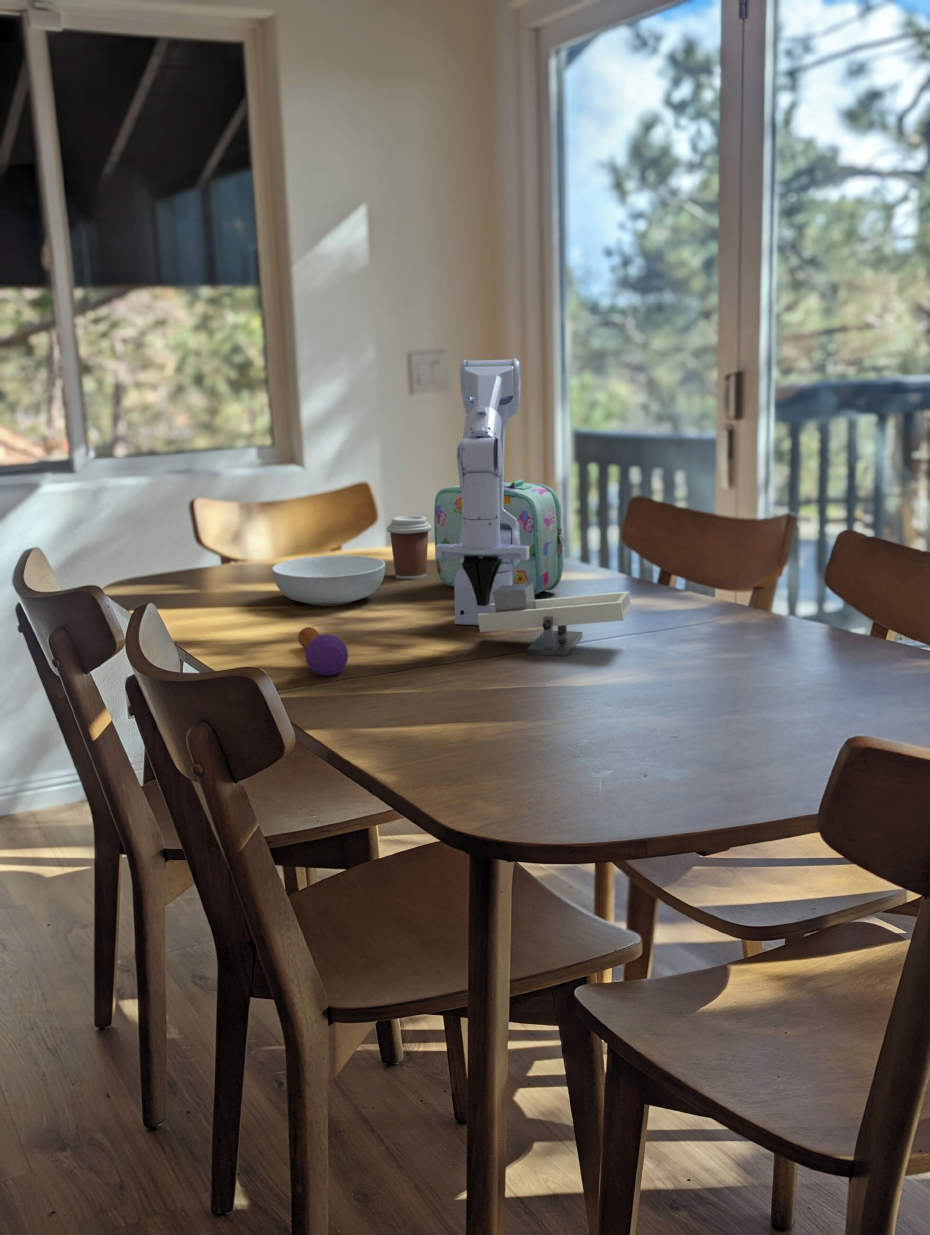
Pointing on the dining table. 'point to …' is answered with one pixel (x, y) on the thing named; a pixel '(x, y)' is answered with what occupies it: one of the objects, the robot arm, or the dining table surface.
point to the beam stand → (554, 640)
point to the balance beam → (560, 612)
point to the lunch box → (536, 528)
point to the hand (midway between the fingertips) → (483, 604)
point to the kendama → (323, 652)
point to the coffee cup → (409, 546)
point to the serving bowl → (329, 578)
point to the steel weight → (514, 597)
